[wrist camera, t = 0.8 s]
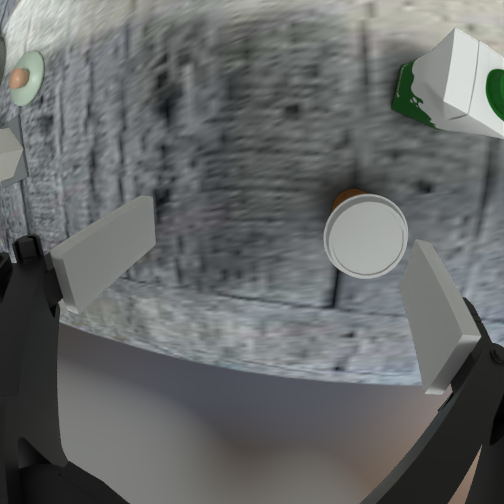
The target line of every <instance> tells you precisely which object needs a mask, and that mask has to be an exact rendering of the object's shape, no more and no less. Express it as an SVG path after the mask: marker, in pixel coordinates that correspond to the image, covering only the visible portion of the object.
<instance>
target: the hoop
mask: <svg viewBox="0 0 504 504" xmlns="http://www.w3.org/2000/svg"><path fill="white" fill-rule="evenodd" d="M4 66H5V44H4V41H3V40H2V38H0V84H1V81H2V77H3V72H4Z"/></svg>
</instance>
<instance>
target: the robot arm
mask: <svg viewBox="0 0 504 504" xmlns="http://www.w3.org/2000/svg"><path fill="white" fill-rule="evenodd" d="M155 245H156V240H155V227H154V211H153V197H149V196H139V197H137V198H135V199H134V200H132V201H130V202H128V203H126V204H125V205H123V206H121V207H119V208H118V209H116V210H114V211H112V212H111V213H109V214H107V215H106V216H104V217H102V218H101V219H99V220H97V221H96V222H94V223H92V224H91V225H89V226H87V227H86V228H84V229H83V230H81V231H79V232H78V233H76V234H75V235H73V236H71V237H70V238H68V239H67V240H65V241H64V242H62V243H61V244H59V245H58V246H56V247H55V248H53V249H52V250H50V252H49V253H47V254H46V255H45V256H44V254H43V250H42V246H41V242H40V237H39V236H38V235H35V234H31V235H26V236H23V237H21V238H18V239H17V240H16V241H14V242H13V243H12V247H13V250H14V254H15V258H16V261H17V263H11V259H10V256H9V254H8V253H7V252H1V253H0V504H130V503H128V502H127V501H126V500H125V499H123V498H122V497H121V496H120V495H118V494H117V493H116V492H115V491H113V490H112V489H111V488H110V487H109V486H108V485H106V484H105V483H104V482H103V481H101V480H100V479H98V478H96V477H94V476H93V475H91V474H89V473H88V472H86V471H84V470H82V469H81V468H79V467H78V466H76V465H75V464H73V463H71V462H70V461H69V462H68V460H67V458H66V456H65V454H64V452H63V449H62V446H61V439H60V430H59V417H58V398H57V348H58V330H59V317H60V307H59V304H58V302H59V301H60V300H61V299H62V298H63V300H64V303H65V306H66V309H67V310H69V311H71V312H73V313H76V314H78V315H80V314H81V313H82V312H83V311H84V310H85V309H86V308H87V307H88V306H89V305H90V304H91V303H92V302H93V301H94V300H95V299H96V298H97V297H98V296H99V295H100V294H101V293H102V292H104V291H105V290H106V289H107V288H108V287H109V286H110V285H111V284H112V283H113V282H114V281H115V280H116V279H118V278H119V277H120V276H121V275H122V274H123V273H124V272H125V271H126V270H127V269H129V268H130V267H131V266H132V265H133V264H134V263H135V262H136V261H138V260H139V259H140V258H141V257H142V256H143V255H144V254H145V253H147V252H148V251H149V250H150V249H151V248H152V247H153V246H155ZM399 289H400V293H401V296H402V299H403V303H404V306H405V310H406V314H407V317H408V321H409V325H410V329H411V333H412V337H413V341H414V345H415V350H416V354H417V359H418V363H419V368H420V373H421V378H422V384H423V389H424V393H425V394H443V392H444V391H445V390H446V389H447V387H448V386H449V384H450V383H451V387H452V391H453V392H452V393H451V395H450V396H449V397H448V398H447V400H446V401H445V402H444V404H443V405H442V406H441V407H440V408H439V409H438V411H439V412H438V414H437V415H436V416H435V418H434V419H433V421H432V422H431V423H430V425H429V426H428V428H427V429H426V430H425V432H424V433H423V434H422V436H421V437H420V438H419V439H418V441H417V442H416V443H415V445H414V446H413V447H412V448H411V449H410V451H409V452H408V453H407V454H406V455H405V457H404V458H403V459H402V460H401V461H400V462H399V464H398V465H397V466H396V467H395V468H394V469H393V470H392V471H391V473H390V474H389V475H388V476H387V477H386V478H385V479H384V480H383V481H382V482H381V483H380V484H379V485H378V486H377V487H376V488H375V489H374V490H373V491H372V492H371V493H370V494H369V495H368V496H367V497H366V498H365V499H364V500H363V501H362V502H361V503H360V504H448V502H449V501H450V499H451V498H452V496H453V495H454V493H455V492H456V490H457V488H458V487H459V485H460V484H461V482H462V480H463V479H464V477H465V475H466V474H467V472H468V470H469V468H470V466H471V465H472V463H473V461H474V459H475V457H476V455H477V453H478V451H479V449H480V447H481V445H482V448H481V453H480V456H479V460H478V464H477V468H476V471H475V475H474V478H473V481H472V485H471V487H470V491H469V493H468V497H467V499H466V502H465V504H504V348H503V347H502V346H500V345H498V344H496V343H492V342H491V339H490V337H489V335H488V333H487V331H486V329H485V327H484V325H483V323H481V319H480V317H479V316H478V313H477V311H476V310H475V308H474V306H473V305H472V304H471V303H470V302H469V301H468V300H467V299H466V298H464V297H462V296H461V295H460V293H459V291H458V289H457V287H456V285H455V284H454V282H453V280H452V278H451V277H450V275H449V273H448V271H447V270H446V268H445V266H444V265H443V263H442V261H441V260H440V258H439V256H438V255H437V253H436V252H435V250H434V248H433V247H432V245H431V244H430V242H426V241H422V240H417V239H416V240H415V243H414V246H413V250H412V253H411V256H410V259H409V262H408V265H407V268H406V271H405V274H404V277H403V280H402V282H401V285H400V288H399ZM482 443H483V444H482Z"/></svg>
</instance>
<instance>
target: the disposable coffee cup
mask: <svg viewBox="0 0 504 504" xmlns="http://www.w3.org/2000/svg"><path fill="white" fill-rule="evenodd" d="M407 240H408V227H407V223H406V219H405V217H404V215H403V213H402V212H401V210H400V209H399V208H398V207H397V206H396V205H395V204H394V203H393V202H392V201H390V200H389V199H387V198H384V197H382V196H379V195H374V194H369V193H366V192H364V191H362V190H359V189H348V190H345V191H343V192H342V193H340V194H339V195H338V196H337V197H336V199H335V200H334V202H333V205H332V211H331V215H330V216H329V218H328V220H327V223H326V226H325V229H324V246H325V250H326V253H327V255H328V257H329V259H330V260H331V262H332V263H333V264H334V265H335V266H336V267H337V268H338V269H340V270H341V271H342V272H344V273H346V274H348V275H350V276H353V277H356V278H361V279H370V278H375V277H379V276H381V275H384V274H386V273H388V272H389V271H390V270H391V269H393V268H394V267H395V266H396V265H397V264H398V262H399V261H400V260H401V258H402V257H403V255H404V252H405V249H406V245H407Z"/></svg>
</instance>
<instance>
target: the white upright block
mask: <svg viewBox="0 0 504 504" xmlns="http://www.w3.org/2000/svg"><path fill="white" fill-rule="evenodd" d="M22 151H23V147H22V146H21V144H20V143H19V141H18V140H17V138H16V137H15V136H14V134H13V133H12V131H11V130H10V128H4V129H0V181H3V180H6V179H9V178H11V177H13V176H14V173H15V170H16V167H17V164H18V162H19V159H20V156H21V154H22Z"/></svg>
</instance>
